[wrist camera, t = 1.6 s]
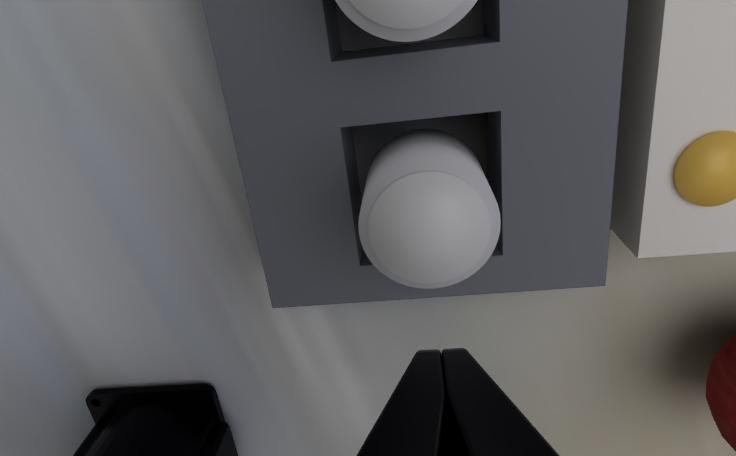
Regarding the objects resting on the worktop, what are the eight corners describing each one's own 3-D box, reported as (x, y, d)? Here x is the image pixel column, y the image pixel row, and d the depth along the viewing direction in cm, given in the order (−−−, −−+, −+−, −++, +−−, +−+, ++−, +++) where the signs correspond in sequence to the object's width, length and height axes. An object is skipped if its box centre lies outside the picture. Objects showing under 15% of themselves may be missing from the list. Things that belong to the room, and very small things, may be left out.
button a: (373, 242, 19) (366, 296, 15) (359, 135, 17) (348, 169, 14) (484, 233, 18) (502, 287, 15) (481, 122, 17) (500, 154, 13)
